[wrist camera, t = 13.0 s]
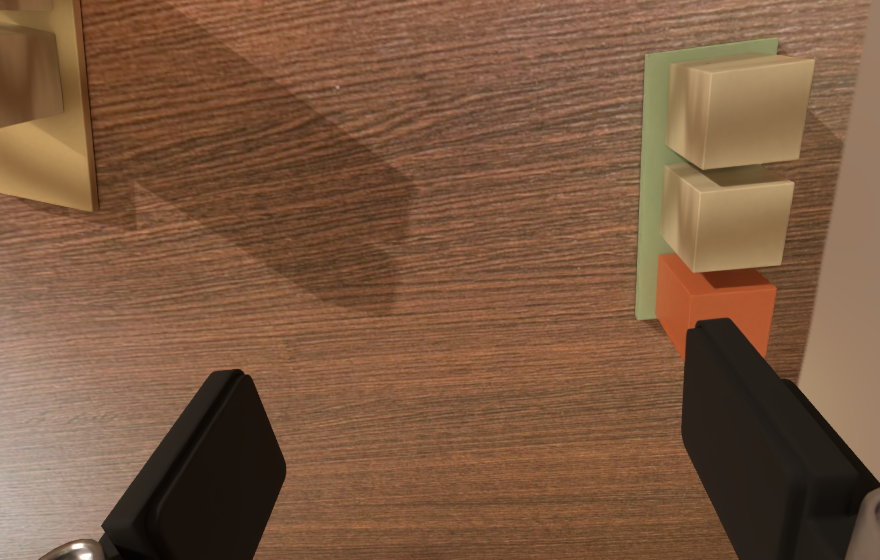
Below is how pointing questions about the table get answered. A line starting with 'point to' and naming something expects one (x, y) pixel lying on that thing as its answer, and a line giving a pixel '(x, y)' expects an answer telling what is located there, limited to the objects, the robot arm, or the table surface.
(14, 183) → the word board
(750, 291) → the terracotta cube
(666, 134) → the word board
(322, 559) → the table surface
